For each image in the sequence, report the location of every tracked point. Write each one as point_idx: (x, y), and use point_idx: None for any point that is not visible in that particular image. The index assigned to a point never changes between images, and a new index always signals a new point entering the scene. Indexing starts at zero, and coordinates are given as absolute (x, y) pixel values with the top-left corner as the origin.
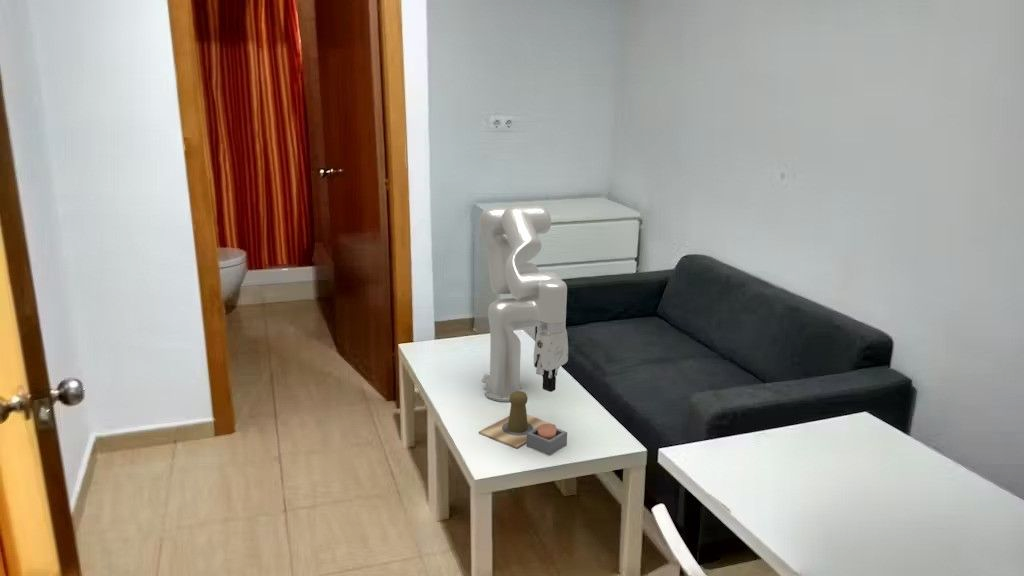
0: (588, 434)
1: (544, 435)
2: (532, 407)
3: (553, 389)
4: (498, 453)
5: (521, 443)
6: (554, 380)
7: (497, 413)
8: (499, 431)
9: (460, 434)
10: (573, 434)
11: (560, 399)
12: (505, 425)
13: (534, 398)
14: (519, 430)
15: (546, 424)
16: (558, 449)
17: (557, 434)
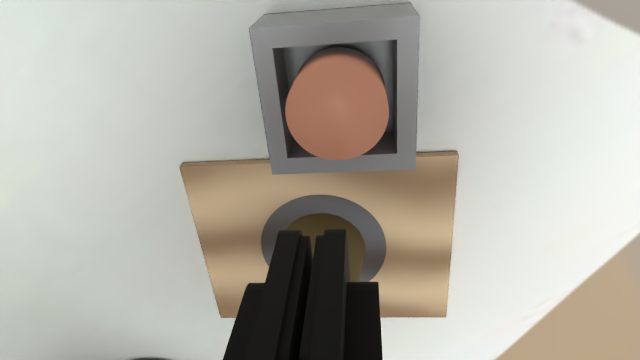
0: (97, 11)
1: (384, 86)
2: (150, 305)
3: (307, 241)
4: (537, 177)
5: (416, 162)
6: (280, 326)
7: None
8: (394, 274)
9: (490, 341)
10: (160, 64)
11: (19, 280)
12: None
13: (100, 335)
14: (348, 228)
15: (308, 142)
16: (333, 9)
17: (279, 73)
